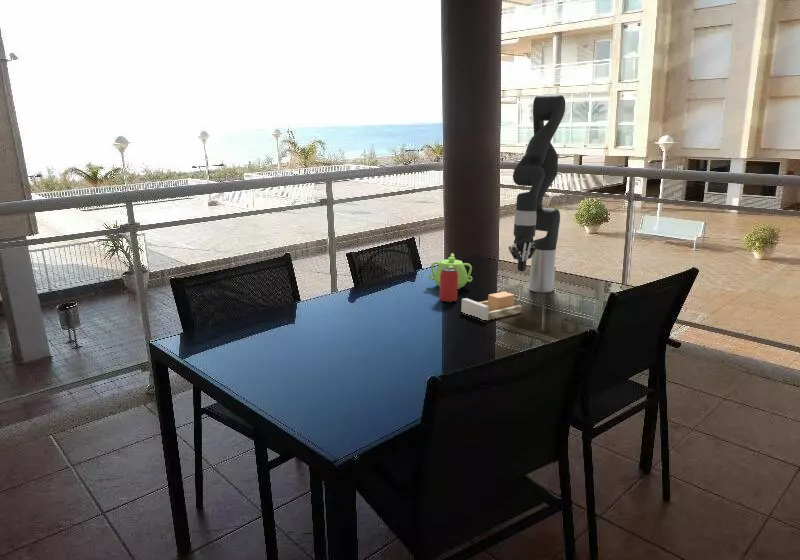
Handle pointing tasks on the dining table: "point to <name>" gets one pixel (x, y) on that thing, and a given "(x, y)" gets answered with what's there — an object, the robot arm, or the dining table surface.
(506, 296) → the block
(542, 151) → the robot arm
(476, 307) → the stop block
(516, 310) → the guide lane
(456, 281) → the beer can
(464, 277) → the green sugar bowl
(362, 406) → the dining table surface
